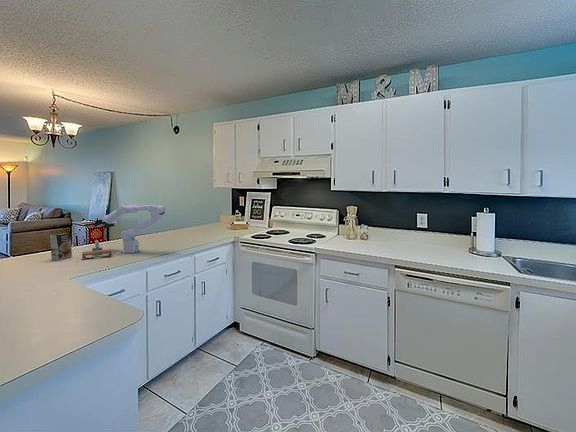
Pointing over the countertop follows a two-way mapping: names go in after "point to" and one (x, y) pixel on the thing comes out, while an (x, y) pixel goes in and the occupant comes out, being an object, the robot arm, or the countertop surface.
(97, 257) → the puck
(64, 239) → the coffee box
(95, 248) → the scraper
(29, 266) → the countertop surface
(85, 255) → the wooden stand
